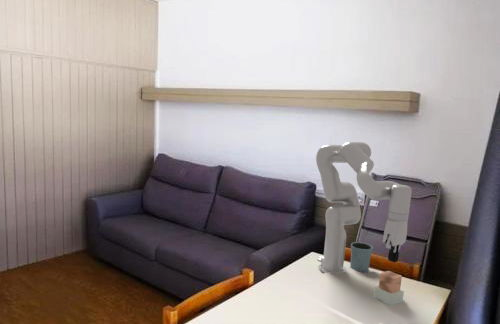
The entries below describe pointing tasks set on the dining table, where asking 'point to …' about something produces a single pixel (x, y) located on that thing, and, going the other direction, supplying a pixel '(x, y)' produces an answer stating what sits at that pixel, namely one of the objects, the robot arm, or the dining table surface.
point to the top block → (390, 281)
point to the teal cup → (360, 256)
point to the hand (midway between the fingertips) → (392, 260)
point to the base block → (388, 295)
